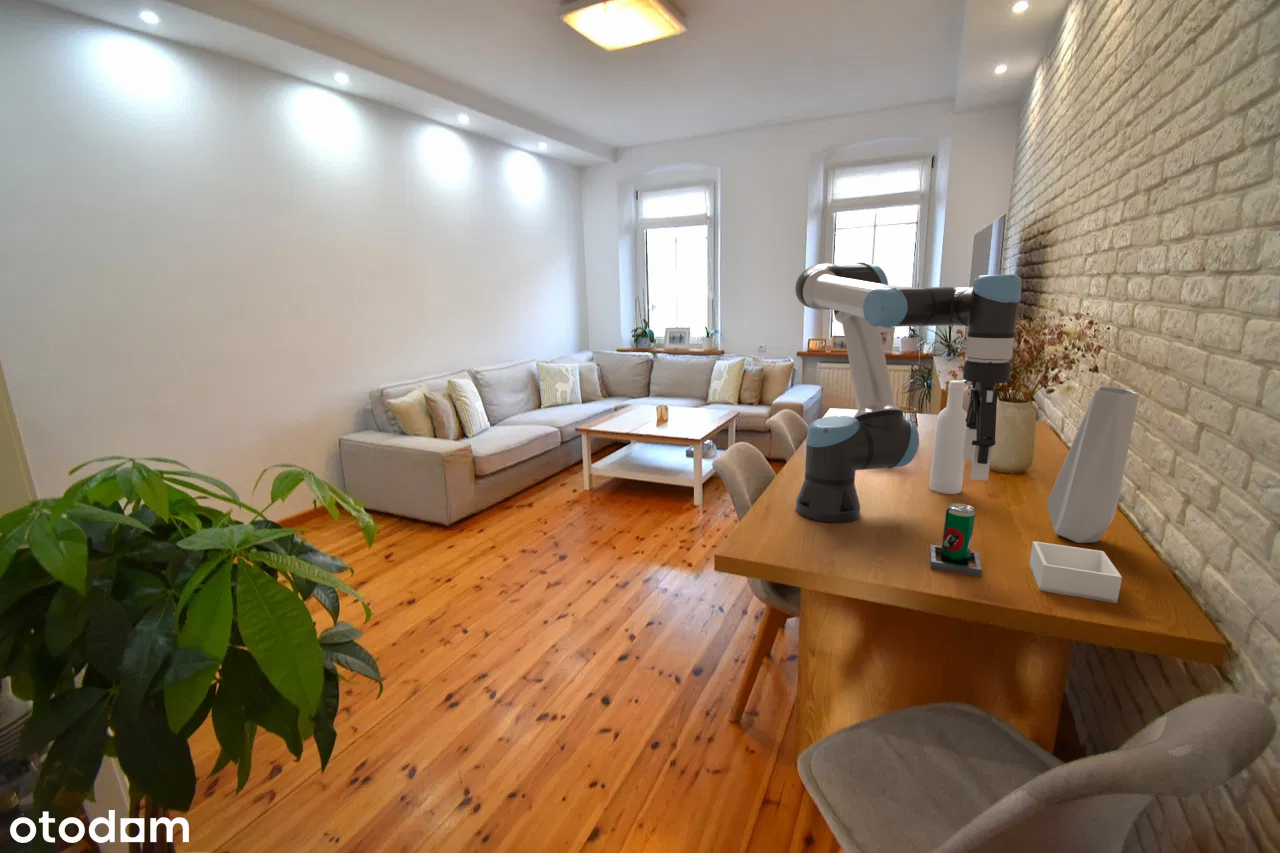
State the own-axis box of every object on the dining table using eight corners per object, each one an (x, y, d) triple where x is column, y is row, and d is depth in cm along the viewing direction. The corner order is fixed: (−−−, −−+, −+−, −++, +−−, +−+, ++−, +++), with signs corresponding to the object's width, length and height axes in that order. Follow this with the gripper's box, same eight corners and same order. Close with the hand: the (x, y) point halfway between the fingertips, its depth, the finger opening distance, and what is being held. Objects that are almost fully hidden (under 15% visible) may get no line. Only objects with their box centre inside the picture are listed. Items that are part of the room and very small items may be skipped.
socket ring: (930, 568, 113) (931, 561, 112) (929, 551, 120) (930, 544, 120) (981, 577, 109) (982, 570, 109) (977, 558, 117) (977, 551, 116)
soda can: (972, 570, 112) (980, 512, 109) (944, 568, 113) (951, 510, 110) (963, 559, 117) (970, 503, 114) (936, 557, 118) (943, 501, 115)
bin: (1039, 590, 104) (1043, 564, 103) (1029, 564, 114) (1032, 541, 113) (1116, 603, 99) (1122, 577, 98) (1099, 575, 109) (1103, 551, 108)
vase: (1103, 530, 129) (1146, 387, 119) (1114, 553, 119) (1162, 400, 109) (1039, 517, 134) (1074, 380, 124) (1044, 538, 125) (1083, 391, 114)
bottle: (923, 488, 158) (934, 381, 152) (937, 483, 163) (948, 378, 156) (953, 496, 152) (966, 384, 146) (966, 490, 157) (980, 381, 150)
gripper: (1025, 368, 94) (1008, 491, 99) (1000, 354, 117) (987, 454, 121) (973, 367, 97) (958, 486, 102) (958, 353, 120) (947, 451, 124)
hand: (974, 469), depth 112 cm, fingers open, 13 cm apart
